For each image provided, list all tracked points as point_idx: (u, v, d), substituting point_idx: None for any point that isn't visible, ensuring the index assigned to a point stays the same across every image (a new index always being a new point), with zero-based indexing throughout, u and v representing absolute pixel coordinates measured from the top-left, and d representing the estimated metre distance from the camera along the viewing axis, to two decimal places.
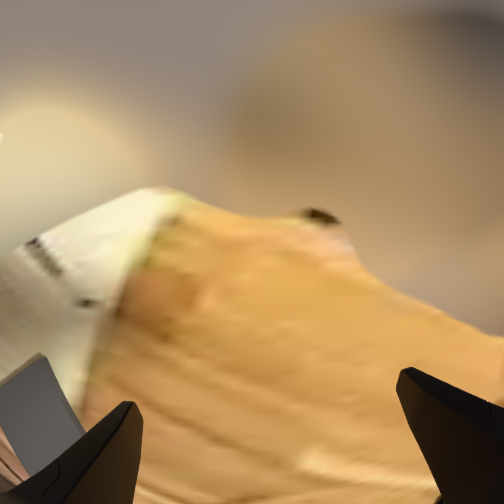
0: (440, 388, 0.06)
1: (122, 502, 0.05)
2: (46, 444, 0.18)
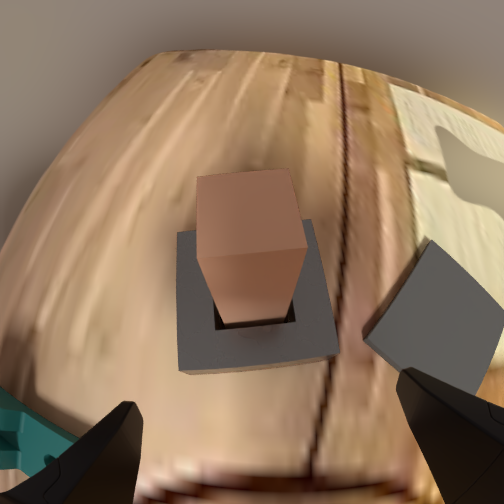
0: (440, 388, 0.06)
1: (122, 502, 0.05)
2: (452, 343, 0.20)
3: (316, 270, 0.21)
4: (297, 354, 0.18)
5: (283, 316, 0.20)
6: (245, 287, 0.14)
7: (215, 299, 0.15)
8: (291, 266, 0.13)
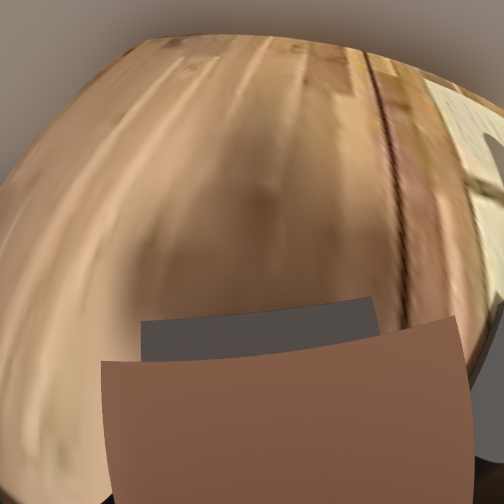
0: None
1: None
2: None
3: None
4: None
5: None
6: None
7: None
8: None
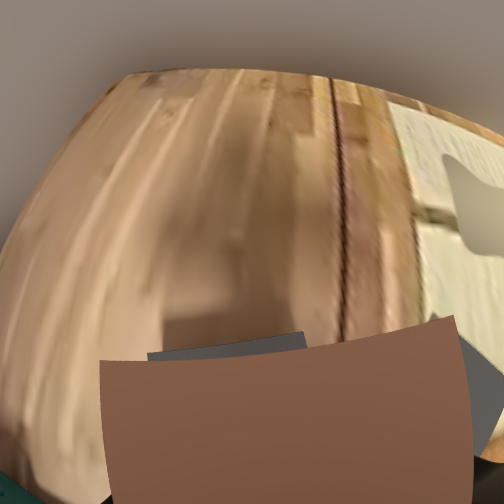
0: None
1: None
2: None
3: None
4: None
5: None
6: None
7: None
8: None
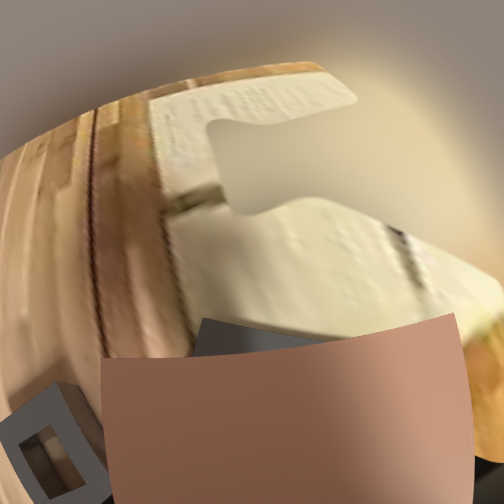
0: None
1: None
2: None
3: (78, 435, 0.15)
4: None
5: None
6: None
7: None
8: None
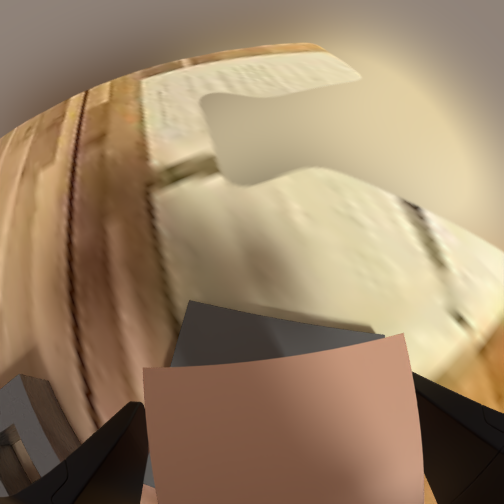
0: (434, 391, 0.06)
1: (130, 503, 0.05)
2: None
3: (41, 438, 0.11)
4: None
5: None
6: None
7: None
8: None
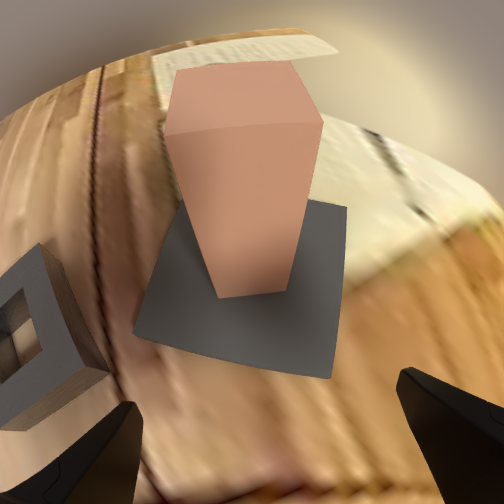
0: (440, 388, 0.06)
1: (122, 502, 0.05)
2: None
3: (47, 290, 0.16)
4: (52, 382, 0.13)
5: (287, 271, 0.16)
6: (236, 205, 0.10)
7: (196, 230, 0.11)
8: (301, 163, 0.09)
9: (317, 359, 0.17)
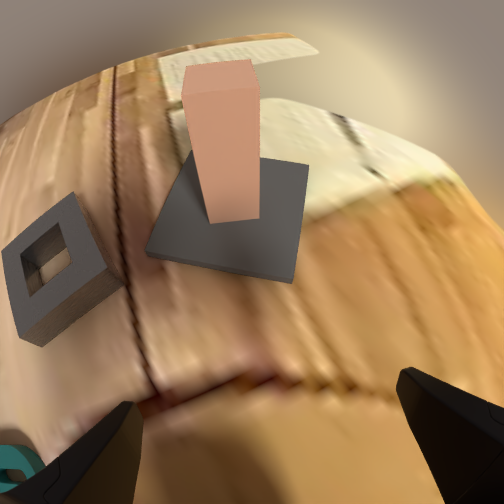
0: (440, 388, 0.06)
1: (122, 502, 0.05)
2: None
3: (80, 221, 0.23)
4: (78, 284, 0.20)
5: (257, 195, 0.23)
6: (218, 137, 0.17)
7: (195, 155, 0.18)
8: (251, 110, 0.16)
9: (282, 265, 0.23)
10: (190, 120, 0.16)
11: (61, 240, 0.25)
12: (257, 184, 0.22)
